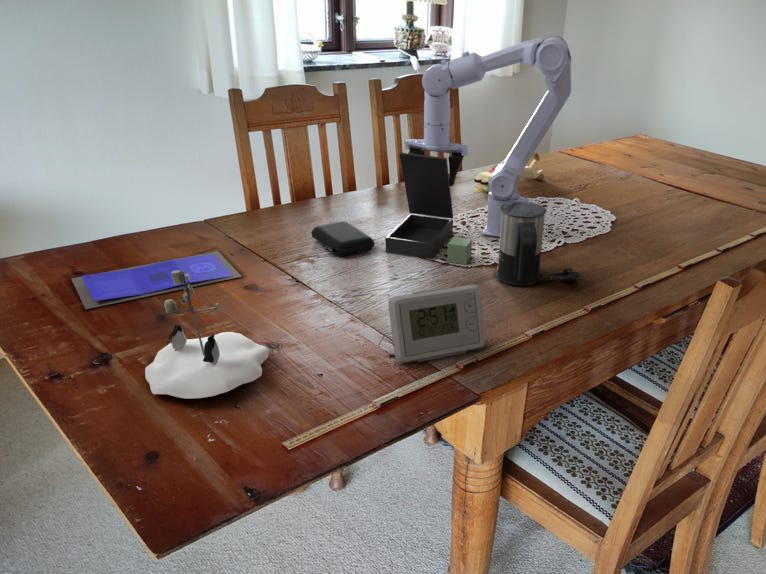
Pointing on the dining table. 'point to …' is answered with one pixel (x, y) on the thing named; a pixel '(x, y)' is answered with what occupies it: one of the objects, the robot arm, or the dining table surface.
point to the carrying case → (342, 238)
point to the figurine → (202, 357)
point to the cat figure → (527, 173)
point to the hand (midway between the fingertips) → (436, 182)
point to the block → (459, 250)
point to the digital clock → (436, 323)
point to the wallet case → (419, 236)
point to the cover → (427, 185)
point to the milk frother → (524, 245)
